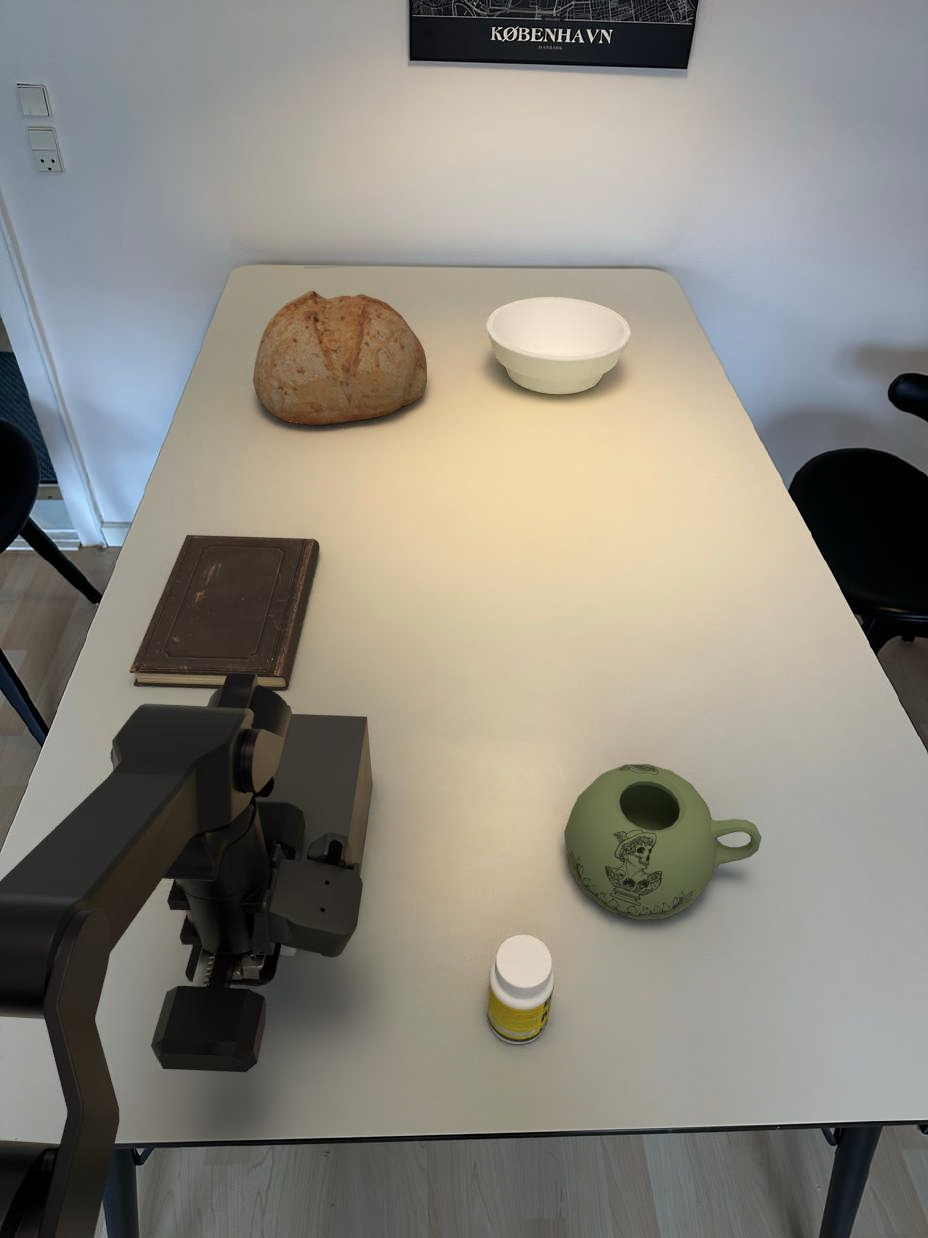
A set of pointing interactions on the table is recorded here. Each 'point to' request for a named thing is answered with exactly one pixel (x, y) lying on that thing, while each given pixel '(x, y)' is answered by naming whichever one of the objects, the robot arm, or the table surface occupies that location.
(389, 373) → the bread
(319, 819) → the cabinet
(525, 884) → the table surface
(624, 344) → the bowl
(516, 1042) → the supplement bottle
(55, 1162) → the robot arm
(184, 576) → the hardcover book
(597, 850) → the mug
